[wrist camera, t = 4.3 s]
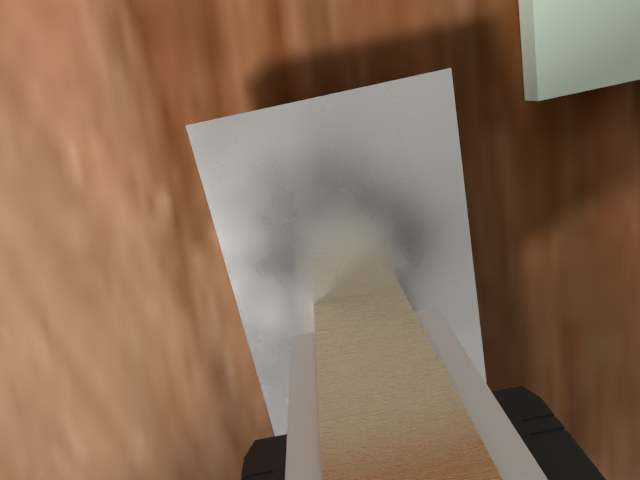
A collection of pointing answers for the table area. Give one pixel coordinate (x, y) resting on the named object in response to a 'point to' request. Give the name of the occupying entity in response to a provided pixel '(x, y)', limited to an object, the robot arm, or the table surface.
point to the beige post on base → (354, 267)
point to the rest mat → (578, 45)
